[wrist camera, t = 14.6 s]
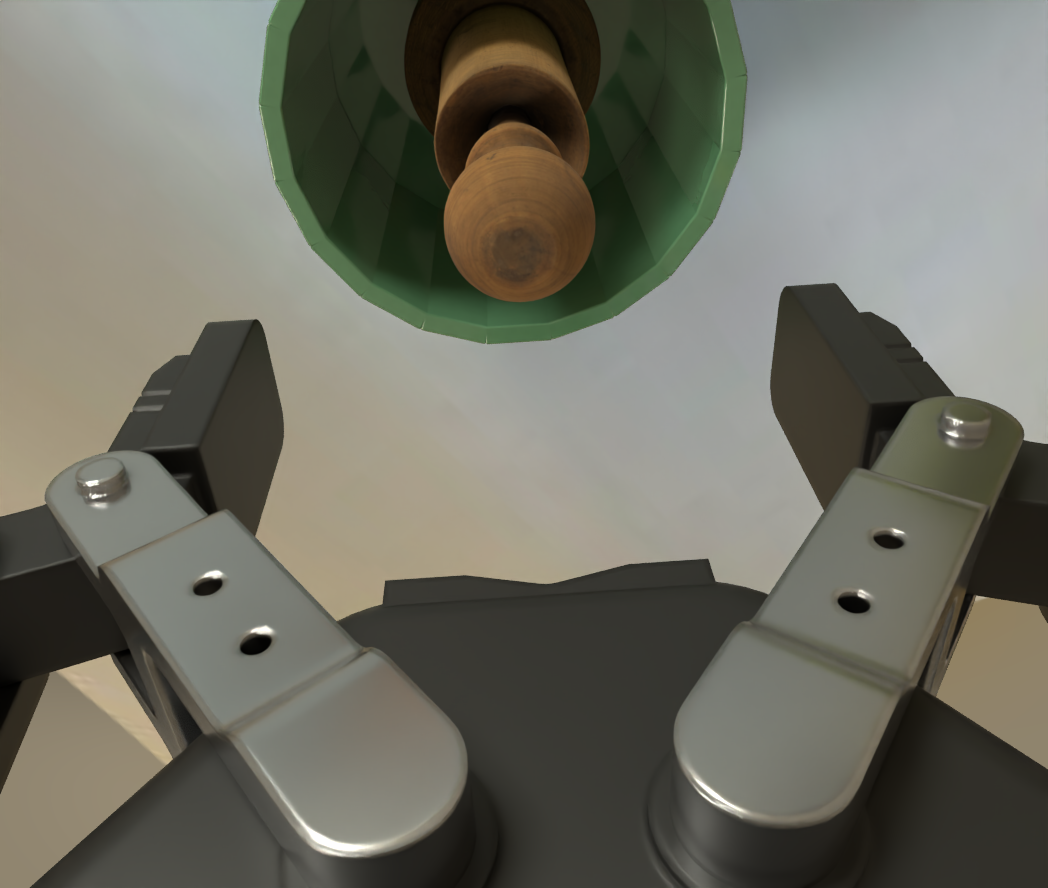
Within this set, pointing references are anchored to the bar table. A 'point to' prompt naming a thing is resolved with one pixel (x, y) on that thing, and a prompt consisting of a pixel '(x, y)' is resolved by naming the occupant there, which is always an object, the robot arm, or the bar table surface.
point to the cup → (421, 193)
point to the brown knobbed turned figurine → (509, 135)
